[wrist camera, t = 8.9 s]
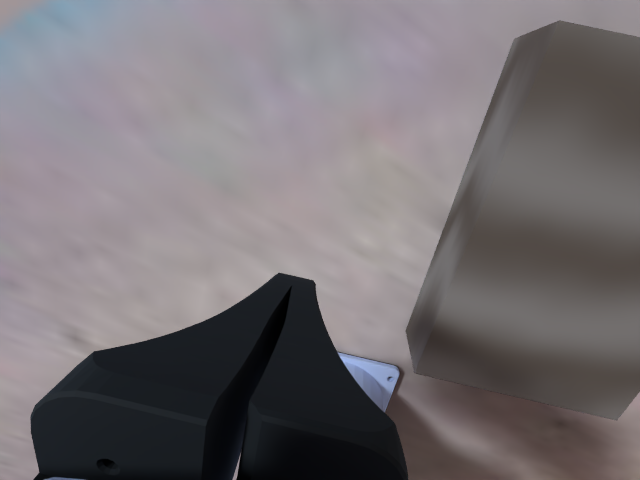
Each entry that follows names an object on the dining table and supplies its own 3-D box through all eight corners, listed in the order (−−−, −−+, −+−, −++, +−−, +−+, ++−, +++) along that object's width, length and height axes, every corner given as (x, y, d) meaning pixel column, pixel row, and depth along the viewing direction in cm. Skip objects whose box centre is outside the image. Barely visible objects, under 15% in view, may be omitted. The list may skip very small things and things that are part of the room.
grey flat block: (575, 370, 23) (616, 420, 20) (405, 330, 23) (414, 373, 20) (760, 90, 16) (879, 87, 12) (514, 38, 16) (559, 20, 13)
